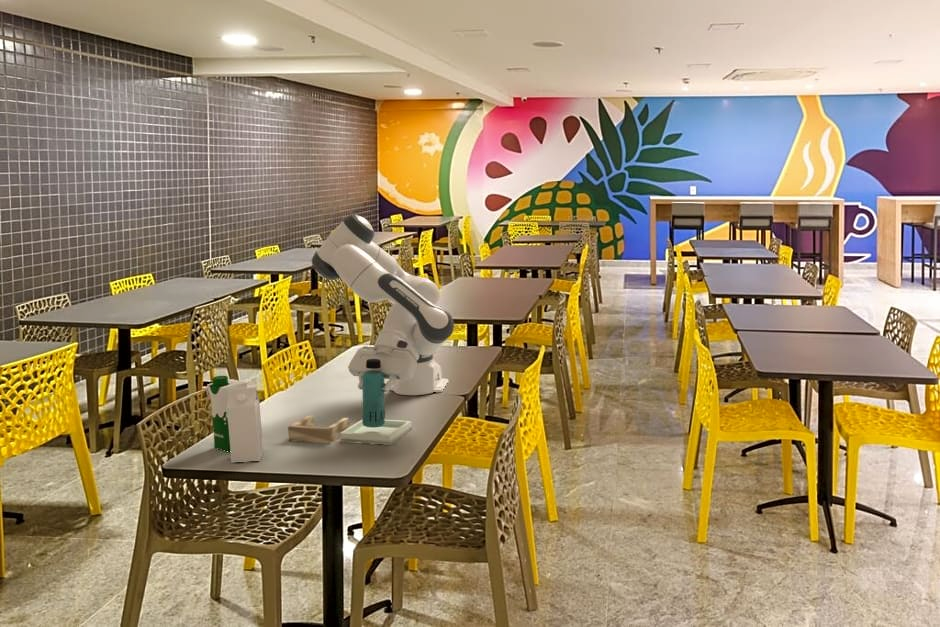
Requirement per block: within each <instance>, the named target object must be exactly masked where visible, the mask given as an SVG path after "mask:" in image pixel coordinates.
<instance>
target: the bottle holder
mask: <svg viewBox="0 0 940 627" xmlns="http://www.w3.org/2000/svg"><path fill="white" fill-rule="evenodd" d="M349 427H350V418H349V417H343V418H341V419H339V420H338V421H336V422H335V423H333V424H331V425H329V426H328V427H325V426H323V427H322V426H315V423H314V415H307V416H305V417H303V418H301V419H299V420H297V421H296V422H293V423H292V424H290V425H289V426H287V432H288V434H287V436H288V441H289V440H292V441H291V442H301V441H305V442H304V443H315V442H318V443H319V442H320V443H319V444H329V443H331V442H332V443H334V442H335V441H337V440H338V438H339V439H340V433H341V432H343V431H344V430H346V429H347V428H349ZM336 439H337V440H336ZM333 441H334V442H333ZM318 443H317V444H318ZM332 443H331V444H332Z"/></svg>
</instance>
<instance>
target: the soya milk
mask: <svg viewBox="0 0 940 627" xmlns="http://www.w3.org/2000/svg"><path fill="white" fill-rule="evenodd" d="M206 385H207V389H208V390H207V391H208V394H209V397H210V404H211V416H212V429H213V447H214V449H217V448H218V449H217V450H220V449H222V450H221V451H223V450H225V451H224V452H226V451H228V452H227V453H231V452H230V451H231V450H230V439H229V427H228V415H227V401H228V389H234V388H248V381H244V380H243V381H242V380H238V379H233V378H232V379H230V378H229V377H228V375H218V376H217V375H216V376H213V377H212V382H211V383H209V384H208V383H207V384H206Z"/></svg>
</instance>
